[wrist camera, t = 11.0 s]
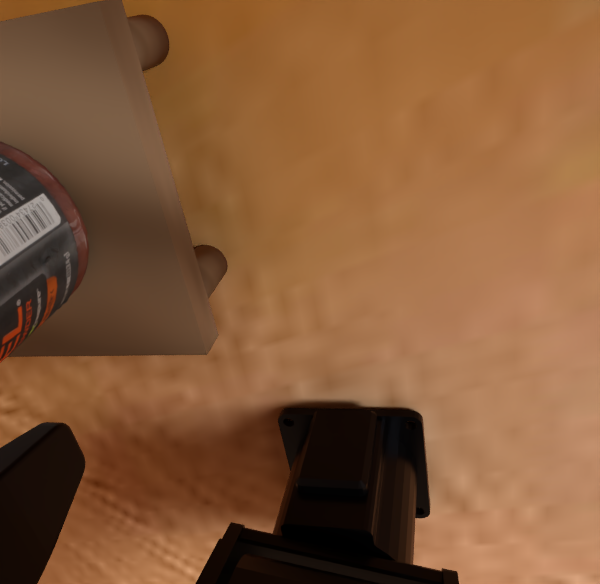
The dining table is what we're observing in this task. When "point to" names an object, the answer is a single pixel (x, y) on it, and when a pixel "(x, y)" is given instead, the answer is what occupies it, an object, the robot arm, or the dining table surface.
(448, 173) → the dining table surface
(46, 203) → the supplement bottle
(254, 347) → the dining table surface
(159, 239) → the footstool
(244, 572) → the robot arm
